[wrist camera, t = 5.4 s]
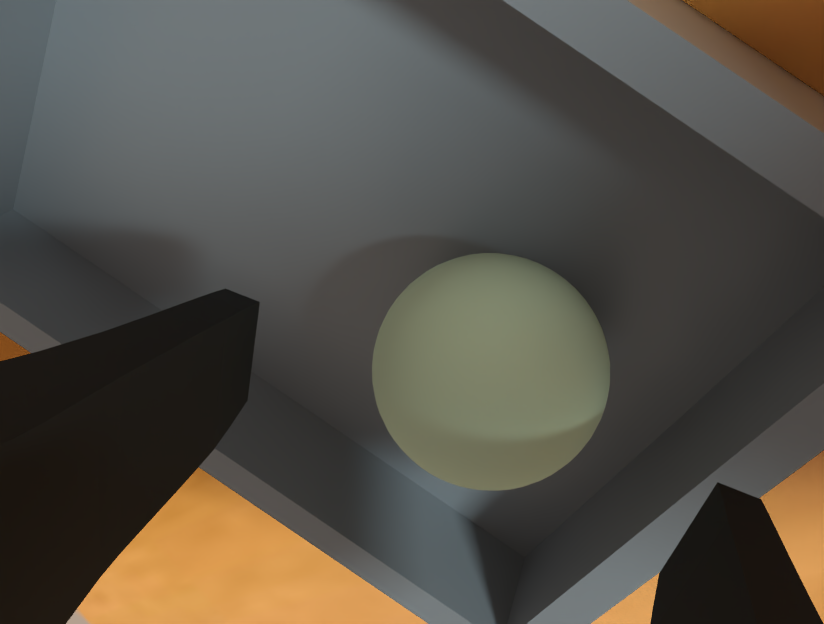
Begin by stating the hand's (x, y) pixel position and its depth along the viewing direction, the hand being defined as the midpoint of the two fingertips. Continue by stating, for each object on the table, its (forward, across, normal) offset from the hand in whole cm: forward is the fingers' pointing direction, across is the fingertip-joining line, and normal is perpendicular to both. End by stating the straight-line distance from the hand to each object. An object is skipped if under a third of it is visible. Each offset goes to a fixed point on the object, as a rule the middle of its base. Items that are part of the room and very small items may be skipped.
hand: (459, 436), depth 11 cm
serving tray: (+4, +3, -1) cm, 6 cm away
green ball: (+4, 0, 0) cm, 4 cm away
